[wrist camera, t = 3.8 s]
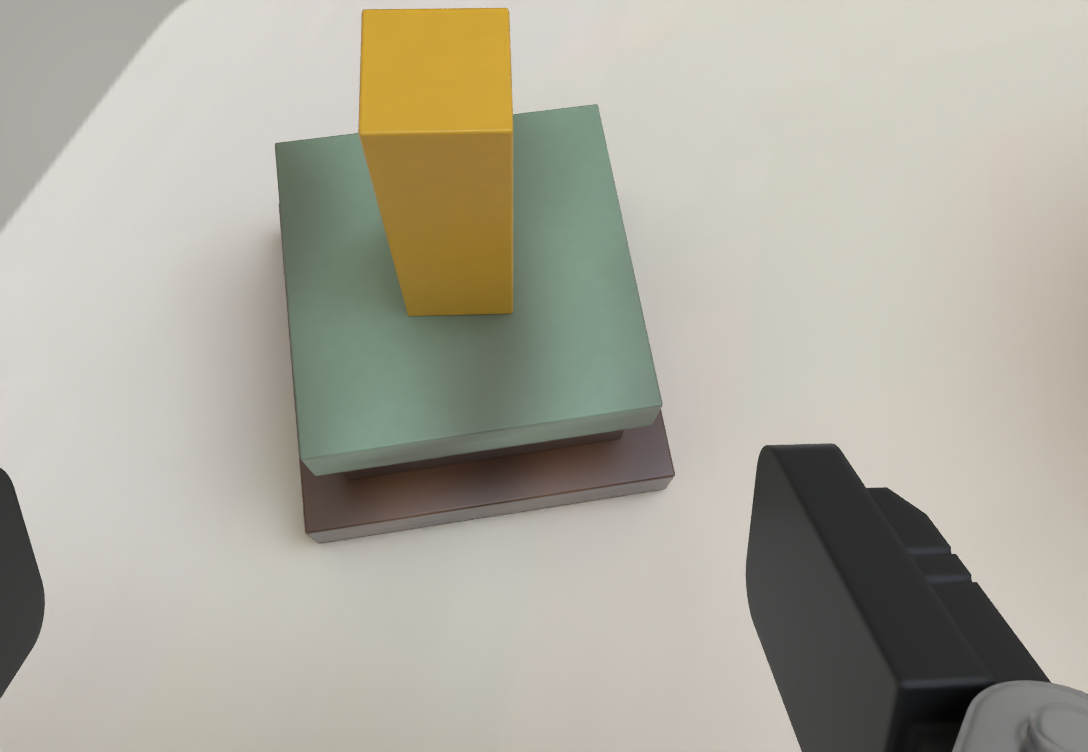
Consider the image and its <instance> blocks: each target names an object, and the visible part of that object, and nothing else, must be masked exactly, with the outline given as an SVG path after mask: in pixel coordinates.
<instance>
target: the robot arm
mask: <svg viewBox="0 0 1088 752" xmlns="http://www.w3.org/2000/svg"><path fill="white" fill-rule="evenodd" d="M746 588H747V597H748V603H749V608H750V613H751V617H752V620H753V623H754V626H755V628H756V631H757V634H758V636H759V639H760V642H761V644H762V647H763V650H764V652H765V655H766V657H767V660H768V663H769V665H770V668H771V671H772V673H773V676H774V679H775V681H776V684H777V687H778V689H779V692H780V695H781V697H782V700H783V703H784V705H785V708H786V711H787V713H788V716H789V719H790V721H791V724H792V726H793V729H794V732H795V734H796V737H797V740H798V742H799V745H800V748H801V750H802V752H1088V694H1086V693H1084V692H1082V691H1079V690H1076V689H1073V688H1069V687H1066V686H1063V685H1058V684H1054V683H1051V682H1050V680H1049V679H1048V678H1047V676H1046V675H1045V674H1044V672H1043V671H1042V670H1041V668H1040V667H1039V666H1038V664H1037V663H1036V661H1035V660H1034V659H1033V657H1032V656H1031V655H1030V653H1029V652H1028V651H1027V649H1026V648H1025V647H1024V645H1023V644H1022V643H1021V641H1020V640H1019V639H1018V637H1017V636H1016V634H1015V633H1014V632H1013V630H1012V629H1011V628H1010V626H1009V625H1008V624H1007V622H1006V621H1005V620H1004V618H1003V617H1002V616H1001V614H1000V613H999V612H998V610H997V609H996V608H995V606H994V605H993V603H992V602H991V601H990V599H989V598H988V597H987V595H986V594H985V593H984V591H983V590H982V589H981V587H980V586H979V585H978V583H977V582H972V580H971V574H970V572H969V571H968V570H967V568H966V567H965V566H964V564H963V563H962V562H961V560H960V559H959V558H958V556H957V555H956V554H951V547H950V546H949V544H948V543H947V541H946V540H945V539H944V537H943V536H942V535H941V533H940V532H939V531H938V529H937V528H936V527H935V525H934V524H933V523H932V521H931V520H930V519H929V517H928V516H927V515H926V514H925V513H923V512H922V511H921V510H919V509H918V508H916V507H915V506H913V505H912V504H910V503H909V502H907V501H906V500H904V499H903V498H901V497H900V496H899V495H897V494H896V493H894V492H893V491H891V490H890V489H888V488H887V487H886V488H866V487H865V486H864V484H863V483H862V481H861V480H860V478H859V477H858V475H857V474H856V472H855V471H854V469H853V468H852V466H851V465H850V463H849V462H848V460H847V459H846V457H845V456H844V454H843V453H842V451H841V450H840V449H839V447H838V446H836V445H835V444H832V443H831V444H796V445H766V446H764V447H763V448H762V450H761V452H760V455H759V459H758V463H757V471H756V480H755V489H754V497H753V506H752V515H751V524H750V533H749V542H748V551H747V560H746ZM44 606H45V597H44V588H43V584H42V580H41V576H40V573H39V570H38V566H37V563H36V559H35V556H34V553H33V549H32V546H31V543H30V539H29V536H28V533H27V529H26V526H25V523H24V519H23V516H22V512H21V509H20V506H19V502H18V499H17V496H16V492H15V489H14V486H13V483H12V481H11V479H10V477H9V476H8V475H7V473H6V472H5V471H4V470H3V469H1V468H0V698H1V697H2V695H3V694H4V692H5V690H6V689H7V687H8V686H9V684H10V683H11V681H12V679H13V678H14V676H15V675H16V673H17V672H18V670H19V668H20V667H21V665H22V664H23V662H24V661H25V659H26V658H27V656H28V654H29V653H30V651H31V650H32V648H33V646H34V645H35V643H36V641H37V638H38V636H39V633H40V630H41V627H42V622H43V617H44Z"/></svg>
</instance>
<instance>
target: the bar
mask: <svg viewBox="0 0 1088 752" xmlns="http://www.w3.org/2000/svg"><path fill="white" fill-rule="evenodd" d="M358 134H359V138H360V141H361V145H362V149H363V152H364V156H365V160H366V163H367V167H368V171H369V174H370V178H371V182H372V185H373V189H374V193H375V196H376V200H377V204H378V207H379V211H380V215H381V218H382V222H383V226H384V229H385V233H386V237H387V240H388V244H389V248H390V251H391V255H392V259H393V262H394V266H395V270H396V273H397V277H398V281H399V284H400V288H401V292H402V295H403V299H404V303H405V306H406V310H407V314H408V316H433V315H472V314H511V313H513V107H512V79H511V50H510V22H509V10H508V9H507V8H460V9H370V10H363V12H362V27H361V62H360V96H359V130H358Z"/></svg>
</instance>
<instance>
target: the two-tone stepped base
mask: <svg viewBox="0 0 1088 752" xmlns="http://www.w3.org/2000/svg"><path fill="white" fill-rule="evenodd" d="M275 153H276V166H277V178H278V190H279V214H280V226H281V238H282V251H283V263H284V276H285V288H286V301H287V313H288V325H289V338H290V350H291V363H292V375H293V387H294V400H295V412H296V425H297V437H298V450H299V462H300V474H301V487H302V499H303V512H304V524H305V532H306V534H307V535H309V536H310V537H311V538H312V539H313V540H315V541H316V542H317V543H325V542H331V541H337V540H344V539H350V538H356V537H363V536H369V535H375V534H382V533H388V532H395V531H401V530H407V529H414V528H420V527H426V526H433V525H439V524H446V523H452V522H458V521H465V520H471V519H477V518H484V517H490V516H496V515H503V514H509V513H516V512H522V511H528V510H535V509H541V508H547V507H554V506H560V505H566V504H573V503H579V502H586V501H592V500H598V499H605V498H611V497H617V496H624V495H630V494H636V493H643V492H649V491H656V490H662V489H665V488H666V487H667V486H668V484H669V483H670V482H671V480H672V479H673V477H674V476H675V472H674V468H673V463H672V458H671V454H670V449H669V444H668V440H667V435H666V430H665V426H664V421H663V417H662V412H661V407H662V400H661V395H660V391H659V386H658V381H657V377H656V372H655V367H654V363H653V358H652V354H651V349H650V344H649V340H648V335H647V330H646V326H645V321H644V317H643V312H642V307H641V303H640V298H639V293H638V289H637V284H636V280H635V275H634V270H633V266H632V261H631V256H630V252H629V247H628V242H627V238H626V233H625V229H624V224H623V219H622V215H621V210H620V205H619V201H618V196H617V192H616V187H615V182H614V178H613V173H612V168H611V164H610V159H609V155H608V150H607V145H606V141H605V136H604V131H603V127H602V122H601V118H600V113H599V108H598V105H596V104H595V105H587V106H579V107H571V108H562V109H554V110H546V111H538V112H529V113H521V114H513V313H511V314H472V315H433V316H408V314H407V310H406V306H405V303H404V299H403V295H402V292H401V288H400V284H399V281H398V277H397V273H396V270H395V266H394V262H393V259H392V255H391V251H390V248H389V244H388V240H387V237H386V233H385V229H384V226H383V222H382V218H381V215H380V211H379V207H378V204H377V200H376V196H375V193H374V189H373V185H372V182H371V178H370V174H369V171H368V167H367V163H366V160H365V156H364V152H363V149H362V145H361V141H360V138H359V134H358V133H356V134H347V135H339V136H331V137H323V138H314V139H306V140H298V141H289V142H281V143H276V144H275Z"/></svg>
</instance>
